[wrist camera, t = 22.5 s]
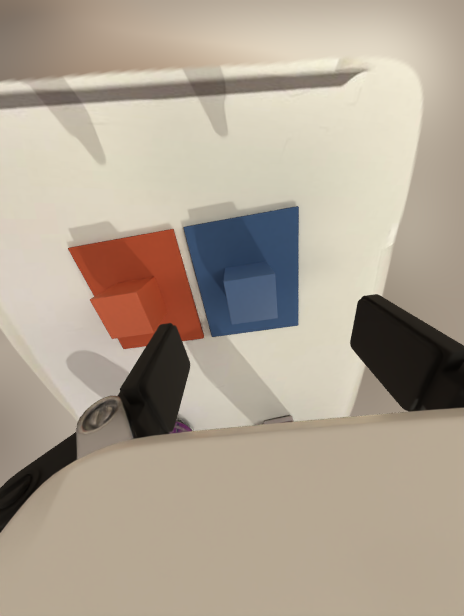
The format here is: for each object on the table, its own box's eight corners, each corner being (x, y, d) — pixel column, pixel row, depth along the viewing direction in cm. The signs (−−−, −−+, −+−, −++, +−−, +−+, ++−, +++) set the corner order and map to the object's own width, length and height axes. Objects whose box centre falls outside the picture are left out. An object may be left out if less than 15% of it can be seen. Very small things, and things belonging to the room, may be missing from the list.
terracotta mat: (70, 247, 17) (67, 248, 17) (173, 228, 16) (172, 229, 16) (125, 347, 23) (123, 349, 22) (204, 336, 22) (203, 338, 22)
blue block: (224, 267, 18) (223, 281, 14) (266, 261, 17) (275, 273, 14) (231, 304, 20) (231, 324, 16) (269, 298, 19) (277, 318, 16)
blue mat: (184, 226, 16) (183, 227, 16) (297, 206, 16) (298, 206, 15) (212, 335, 22) (212, 337, 22) (297, 323, 21) (298, 325, 21)
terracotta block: (116, 283, 18) (89, 299, 15) (154, 276, 18) (135, 292, 15) (132, 316, 20) (111, 339, 17) (167, 311, 20) (154, 333, 16)
